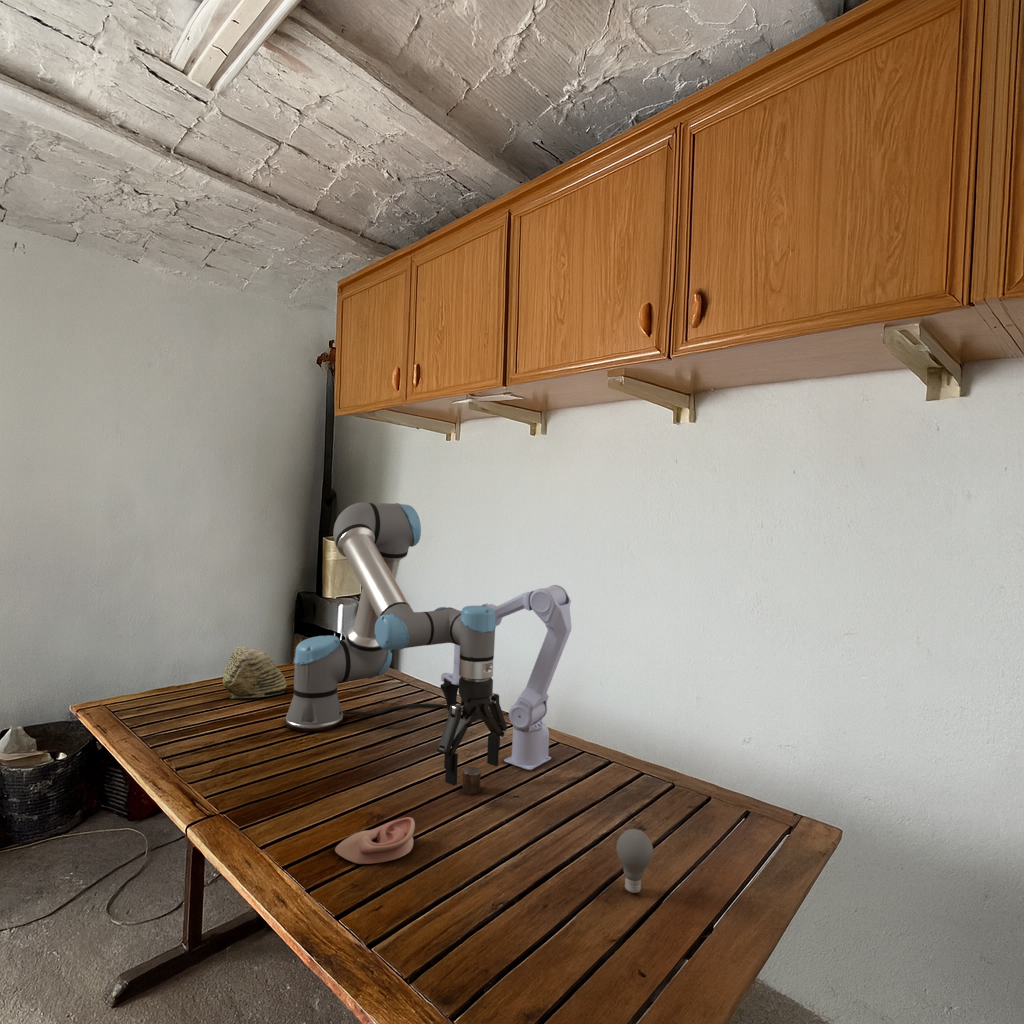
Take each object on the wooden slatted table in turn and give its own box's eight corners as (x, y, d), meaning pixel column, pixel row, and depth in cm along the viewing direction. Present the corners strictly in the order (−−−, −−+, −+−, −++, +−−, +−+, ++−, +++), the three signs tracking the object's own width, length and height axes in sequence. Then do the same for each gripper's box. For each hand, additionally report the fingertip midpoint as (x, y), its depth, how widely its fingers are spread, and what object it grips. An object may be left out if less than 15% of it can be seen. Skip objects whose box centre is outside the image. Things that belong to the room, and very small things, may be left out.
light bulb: (610, 879, 108) (613, 822, 108) (644, 879, 109) (647, 822, 109) (619, 902, 102) (622, 840, 102) (655, 901, 103) (658, 840, 103)
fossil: (218, 695, 195) (220, 647, 195) (278, 685, 208) (279, 640, 207) (228, 703, 189) (230, 653, 188) (289, 692, 201) (290, 645, 201)
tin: (466, 785, 142) (467, 765, 142) (482, 788, 141) (483, 769, 141) (459, 792, 138) (460, 772, 138) (475, 796, 137) (476, 775, 137)
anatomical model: (327, 836, 111) (356, 806, 122) (326, 858, 111) (355, 826, 122) (398, 848, 108) (421, 815, 119) (397, 871, 108) (420, 836, 119)
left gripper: (448, 692, 127) (444, 798, 127) (524, 670, 147) (520, 761, 147) (422, 685, 132) (418, 786, 132) (499, 664, 151) (496, 752, 151)
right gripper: (433, 659, 166) (431, 710, 166) (476, 670, 157) (473, 724, 157) (452, 654, 172) (449, 704, 172) (493, 665, 163) (491, 717, 163)
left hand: (472, 773), depth 139 cm, fingers open, 13 cm apart
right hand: (462, 713), depth 165 cm, fingers open, 7 cm apart
